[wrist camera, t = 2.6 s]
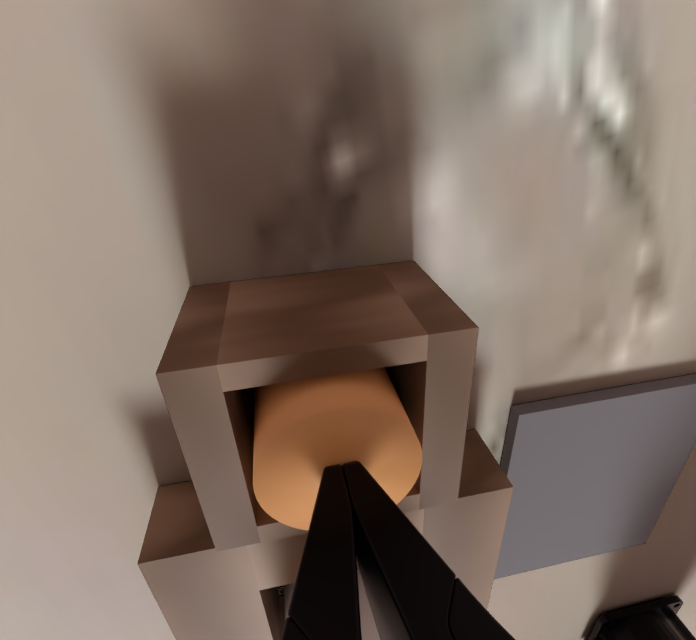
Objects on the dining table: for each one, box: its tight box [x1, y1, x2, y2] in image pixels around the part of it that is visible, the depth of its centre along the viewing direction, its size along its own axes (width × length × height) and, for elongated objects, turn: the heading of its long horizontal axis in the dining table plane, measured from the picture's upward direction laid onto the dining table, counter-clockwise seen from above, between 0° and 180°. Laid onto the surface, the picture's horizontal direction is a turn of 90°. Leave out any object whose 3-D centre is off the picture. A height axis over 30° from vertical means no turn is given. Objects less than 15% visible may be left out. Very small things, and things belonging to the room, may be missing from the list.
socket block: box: [138, 261, 513, 640], centre depth 15 cm, size 13×20×4 cm, turn 2°
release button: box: [253, 367, 422, 530], centre depth 11 cm, size 4×4×4 cm
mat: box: [494, 374, 696, 579], centre depth 20 cm, size 10×12×1 cm
